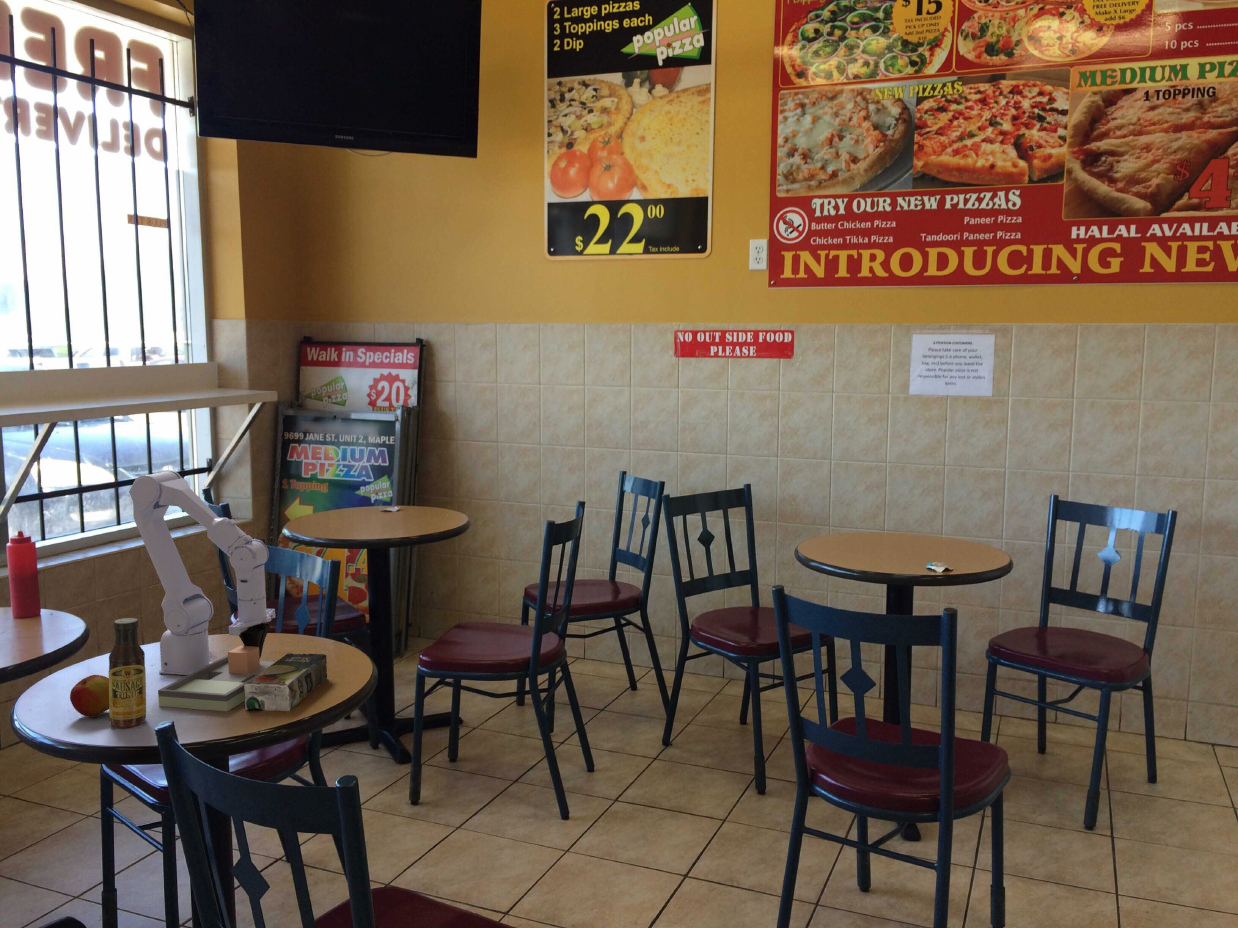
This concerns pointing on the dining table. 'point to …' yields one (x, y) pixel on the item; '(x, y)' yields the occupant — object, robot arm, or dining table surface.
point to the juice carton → (286, 682)
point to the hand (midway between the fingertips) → (254, 658)
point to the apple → (91, 695)
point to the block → (243, 659)
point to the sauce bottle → (127, 676)
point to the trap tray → (209, 687)
